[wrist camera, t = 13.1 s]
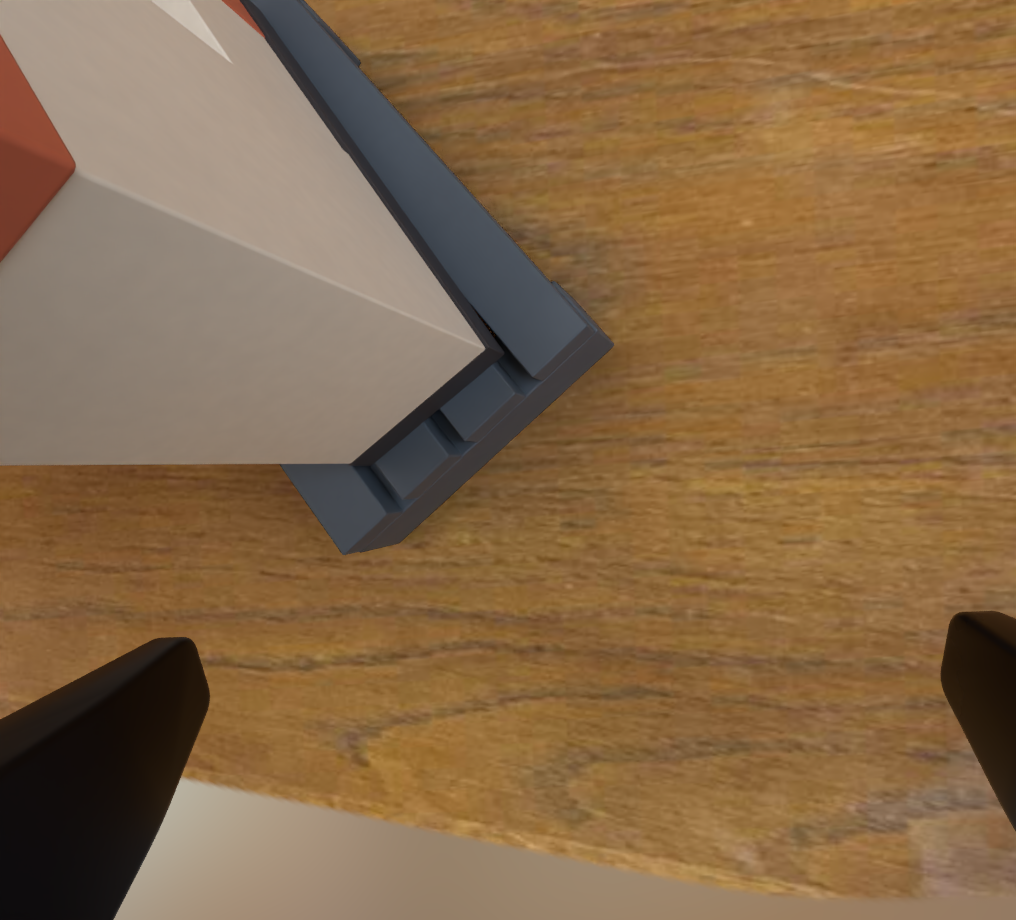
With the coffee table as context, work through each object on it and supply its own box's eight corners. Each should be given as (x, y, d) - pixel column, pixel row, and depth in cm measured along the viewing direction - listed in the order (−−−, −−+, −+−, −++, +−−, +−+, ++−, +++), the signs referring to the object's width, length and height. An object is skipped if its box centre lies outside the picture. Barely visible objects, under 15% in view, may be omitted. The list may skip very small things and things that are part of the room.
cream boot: (508, 356, 18) (-19, 123, 5) (373, 469, 19) (-286, 481, 7) (259, 7, 21) (-452, -658, 8) (157, 127, 22) (-577, -292, 10)
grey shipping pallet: (615, 345, 20) (590, 322, 17) (398, 544, 23) (340, 558, 20) (331, 29, 24) (265, -41, 20) (171, 231, 26) (89, 199, 23)
